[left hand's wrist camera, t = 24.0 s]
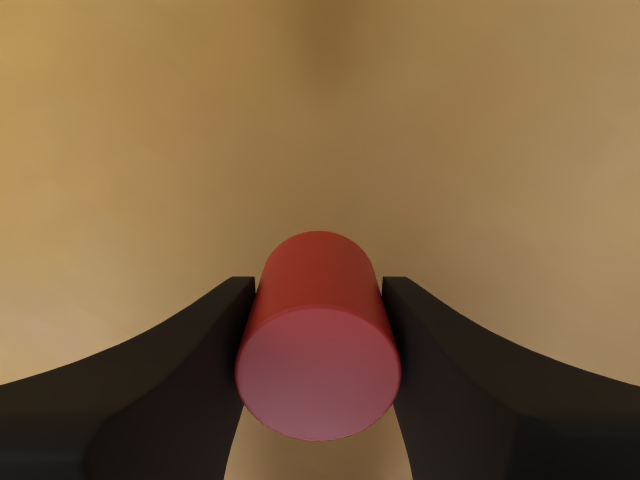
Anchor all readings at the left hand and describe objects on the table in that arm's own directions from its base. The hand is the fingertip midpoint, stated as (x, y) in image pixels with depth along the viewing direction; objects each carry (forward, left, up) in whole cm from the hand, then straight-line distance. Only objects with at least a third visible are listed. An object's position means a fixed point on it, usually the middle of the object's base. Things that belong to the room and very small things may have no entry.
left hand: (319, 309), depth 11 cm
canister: (0, 0, -2) cm, 2 cm away
